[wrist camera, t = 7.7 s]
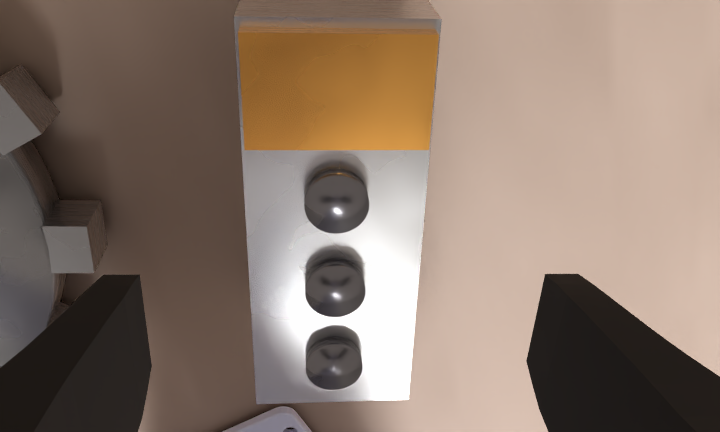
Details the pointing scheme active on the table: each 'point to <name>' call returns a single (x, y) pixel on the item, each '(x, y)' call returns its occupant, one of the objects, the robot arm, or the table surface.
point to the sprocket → (36, 221)
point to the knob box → (335, 190)
